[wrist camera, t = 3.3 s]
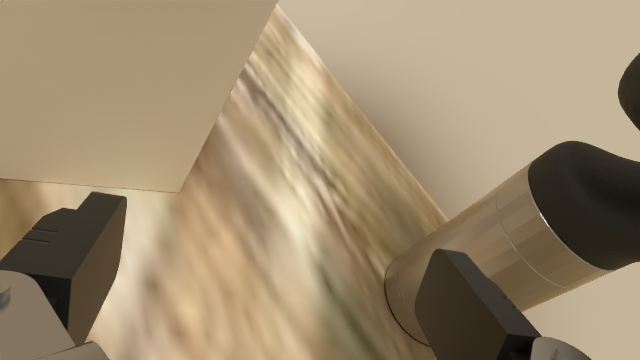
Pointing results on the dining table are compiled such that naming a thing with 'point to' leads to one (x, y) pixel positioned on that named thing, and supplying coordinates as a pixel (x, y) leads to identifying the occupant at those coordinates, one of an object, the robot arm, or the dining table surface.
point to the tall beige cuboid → (117, 86)
